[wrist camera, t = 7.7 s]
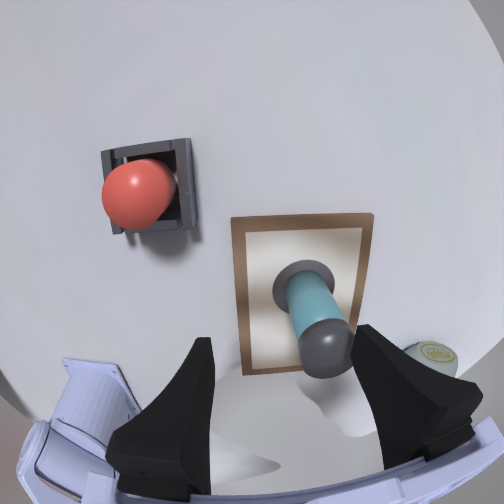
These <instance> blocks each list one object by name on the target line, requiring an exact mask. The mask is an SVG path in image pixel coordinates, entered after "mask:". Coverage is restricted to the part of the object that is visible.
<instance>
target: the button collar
mask: <svg viewBox="0 0 504 504" xmlns="http://www.w3.org/2000/svg"><path fill="white" fill-rule="evenodd" d="M171 150H175V153H176V166H177V178H178V188H179V198H180V208H181V212H170V213H162V214H161V215H160V216H159V218H158V219H157V220H156V221H155V222H154V223H153V224H152V225H150V226H149V227H147V228H145V229H141V230H127V229H124V228H122V227H120V226H118V225H117V224H115V223H114V222H113V221H112V220H111V219H110V221H111V226H112V232H113V234H122V233H123V232H124V231H125V232H126V233H137V232H150V231H163V230H177V229H179V227H180V225H181V223H182V225H183V229H192V228H194V225H195V223H196V221H197V215H196V204H195V193H194V181H193V169H192V155H191V139H190V138H183V139H175V140H166V141H158V142H151V143H144V144H138V145H132V146H126V147H120V148H115V149H110V150H105V151H101V159H102V168H103V176H104V182H105V180H106V178H107V176H108V175H109V174H110V173H111V172H112V171H113V170H114V169H115V168H117V167H118V166H121V165H122V158H123V157H129V156H135V155H142V154H149V153H156V152H164V151H171Z"/></svg>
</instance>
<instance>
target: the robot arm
mask: <svg viewBox="0 0 504 504" xmlns="http://www.w3.org/2000/svg"><path fill="white" fill-rule="evenodd" d="M350 356H351V360H352V363H353V367H354V370H355V373H356V375H357V377H358V379H359V382H360V384H361V386H362V388H363V391H364V393H365V395H366V397H367V400H368V402H369V404H370V407H371V410H372V413H373V416H374V420H375V423H376V427H377V431H378V435H379V440H380V445H381V450H382V456H383V464H384V471H381V472H378V473H375V474H372V475H368V476H365V477H361V478H358V479H354V480H350V481H346V482H342V483H337V484H333V485H328V486H323V487H317V488H312V489H306V490H300V491H292V492H283V493H273V494H261V495H238V496H219V495H218V496H217V495H211V483H210V452H209V431H210V418H211V410H212V403H213V395H214V388H215V363H214V357H213V351H212V344H211V338H210V337H198V338H197V339H196V340H195V342H194V344H193V346H192V348H191V350H190V352H189V354H188V355H187V357H186V359H185V360H184V362H183V364H182V365H181V367H180V368H179V370H178V371H177V373H176V374H175V376H174V377H173V378H172V380H171V381H170V382H169V384H168V385H167V386H166V387H165V389H164V390H163V391H162V392H161V393H160V394H159V395H158V396H157V397H156V398H155V399H154V400H153V401H152V402H151V403H150V404H149V405H148V406H147V407H146V408H145V409H144V410H143V411H140V409H139V407H138V405H137V404H136V402H135V400H134V398H133V396H132V394H131V392H130V390H129V389H128V387H127V385H126V383H125V381H124V379H123V377H122V374H121V372H120V370H119V368H118V367H117V366H116V365H114V364H106V363H96V362H88V361H80V360H72V359H66V358H63V359H62V363H63V365H64V367H65V368H66V370H67V372H68V374H69V375H70V379H69V381H68V383H67V385H66V387H65V389H64V391H63V393H62V395H61V397H60V399H59V401H58V403H57V406H56V408H55V410H54V412H53V414H52V417H51V419H50V421H49V422H47V421H45V420H42V421H37V422H36V423H35V424H34V425H33V427H32V428H31V430H30V432H29V433H28V435H27V437H26V439H25V442H24V444H23V446H22V450H21V453H20V459H19V461H18V464H17V467H16V471H17V477H18V480H19V481H20V483H21V485H22V486H23V488H24V489H25V491H26V492H27V494H28V495H29V497H30V498H31V500H32V501H33V504H428V503H430V502H431V501H434V500H436V499H437V498H439V497H441V496H443V495H445V494H446V493H448V492H450V491H452V490H453V489H455V488H457V487H458V486H460V485H461V484H463V483H465V482H466V481H468V480H469V479H471V478H472V477H474V476H476V475H477V474H478V473H480V472H481V471H483V470H484V469H485V468H487V467H488V466H489V465H490V464H491V463H493V462H494V461H495V460H496V459H497V458H498V457H499V456H500V455H502V454H503V453H504V438H503V436H502V434H501V433H500V431H499V429H498V428H497V426H496V424H495V423H494V421H493V419H492V418H491V417H487V418H486V419H484V420H483V421H481V422H479V423H478V424H476V425H475V426H474V427H473V428H472V426H471V423H472V419H471V417H470V416H471V415H472V413H473V412H474V411H475V409H476V408H477V407H478V405H479V404H480V403H481V401H482V399H483V393H482V392H481V391H480V389H479V388H478V386H477V385H476V383H473V382H468V381H464V380H460V379H457V378H454V377H451V376H448V375H446V374H443V373H441V372H438V371H436V370H434V369H432V368H430V367H428V366H426V365H424V364H422V363H421V362H419V361H417V360H415V359H414V358H412V357H411V356H409V355H408V354H406V353H405V352H403V351H402V350H401V349H399V348H398V347H397V346H395V345H394V344H393V343H391V342H390V341H389V340H388V339H386V338H385V337H384V336H383V335H381V334H380V333H379V332H378V331H376V330H375V329H374V328H373V327H371V326H370V325H369V324H366V325H359V326H357V330H356V334H355V338H354V342H353V346H352V350H351V354H350ZM134 415H136V416H135V417H134V418H133V416H134ZM36 474H37V475H38V476H40V477H42V478H43V479H45V480H46V481H48V482H50V483H51V484H53V485H55V486H57V487H59V488H61V489H62V490H64V491H66V492H68V493H70V494H72V495H74V496H77V497H78V498H80V499H82V500H81V501H76V500H73V499H71V498H69V497H67V496H65V495H63V494H61V493H59V492H58V491H56V490H54V489H52V488H50V487H48V486H47V485H45V484H44V483H42V482H41V481H40V480H39V479H38V477H37V476H36Z"/></svg>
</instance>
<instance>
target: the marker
mask: <svg viewBox="0 0 504 504" xmlns="http://www.w3.org/2000/svg"><path fill="white" fill-rule="evenodd" d="M284 295H285V299H286V302H287V306H288V310H289V313H290V317H291V320H292V324H293V327H294V331H295V334H296V338H297V342H298V351H299V355H300V359H301V363H302V366H303V369H304V371H305V372H306V373H307V374H308V375H309V376H311V377H314V378H320V379H325V378H331V377H335V376H338V375H340V374H342V373H344V372H346V371H347V370H349V369H350V368H351V367H352V366H353V363H352V360H351V356H350V354H351V350H352V346H353V342H354V338H355V334H354V332H353V330H352V328H351V326H350V325H349V324H348V323H347V322H346V320H345V318H344V316H343V314H342V312H341V311H340V309H339V307H338V305H337V303H336V301H335V299H334V298H333V296H332V294H331V292H330V290H329V288H328V287H327V285H326V283H325V281H324V279H323V278H322V276H321V275H320V274H319V273H317V272H315V271H311V270H303V271H299V272H297V273H295V274H293V275H292V276H291V277H290V278H289V279H288V280H287V282H286V283H285V286H284Z"/></svg>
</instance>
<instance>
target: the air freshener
mask: <svg viewBox="0 0 504 504" xmlns="http://www.w3.org/2000/svg"><path fill="white" fill-rule="evenodd" d="M404 352H405V353H406V354H408V355H409V356H411V357H412V358H414V359H415V360H417V361H419V362H421V363H422V364H424V365H426V366H428V367H430V368H432V369H434V370H436V371H438V372H441V373H443V374H446V375H448V376H451V377H455V374H456V371H457V367H458V357H457V355H456V353H455V352H454V351H453V350H452V349H451V348H449V347H447V346H445V345H443V344H440V343H437V342H431V341H425V342H421V343H418V344H416V345H414V346H412V347H410V348H409V349H407V350H405V351H404Z"/></svg>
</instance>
